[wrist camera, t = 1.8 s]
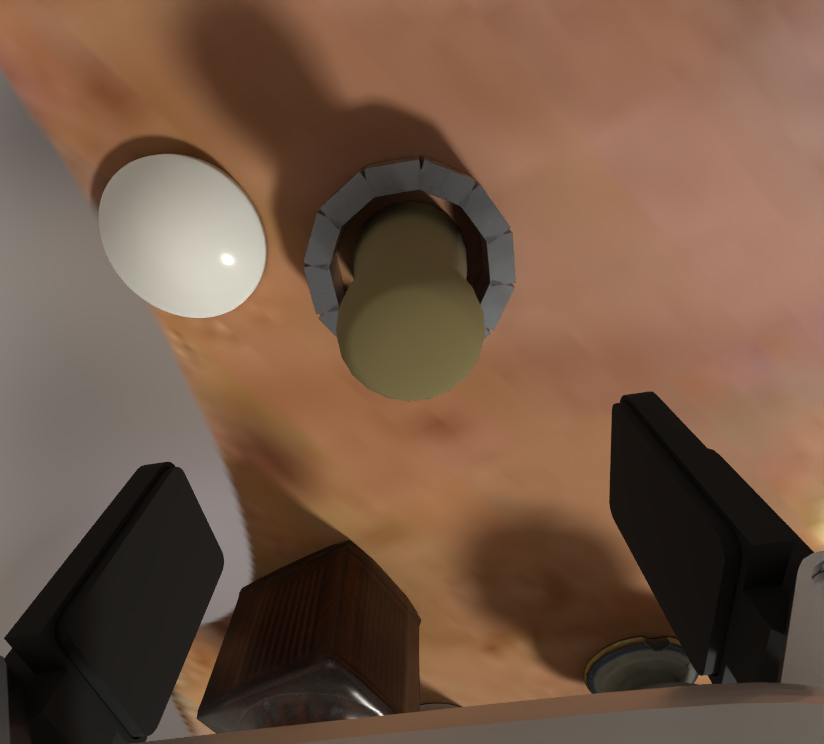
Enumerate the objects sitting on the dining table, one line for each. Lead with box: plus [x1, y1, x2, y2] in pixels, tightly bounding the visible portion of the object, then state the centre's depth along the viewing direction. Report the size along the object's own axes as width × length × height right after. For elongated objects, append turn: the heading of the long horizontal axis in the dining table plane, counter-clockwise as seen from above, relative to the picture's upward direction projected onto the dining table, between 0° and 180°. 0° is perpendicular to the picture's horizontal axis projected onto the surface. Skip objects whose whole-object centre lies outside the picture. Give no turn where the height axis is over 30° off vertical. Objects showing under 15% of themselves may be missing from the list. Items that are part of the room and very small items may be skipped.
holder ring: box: [303, 156, 516, 338], centre depth 24 cm, size 10×10×2 cm
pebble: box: [98, 153, 268, 318], centre depth 24 cm, size 8×8×1 cm
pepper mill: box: [197, 540, 421, 734], centre depth 29 cm, size 16×11×18 cm
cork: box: [336, 201, 485, 401], centre depth 20 cm, size 6×6×11 cm
